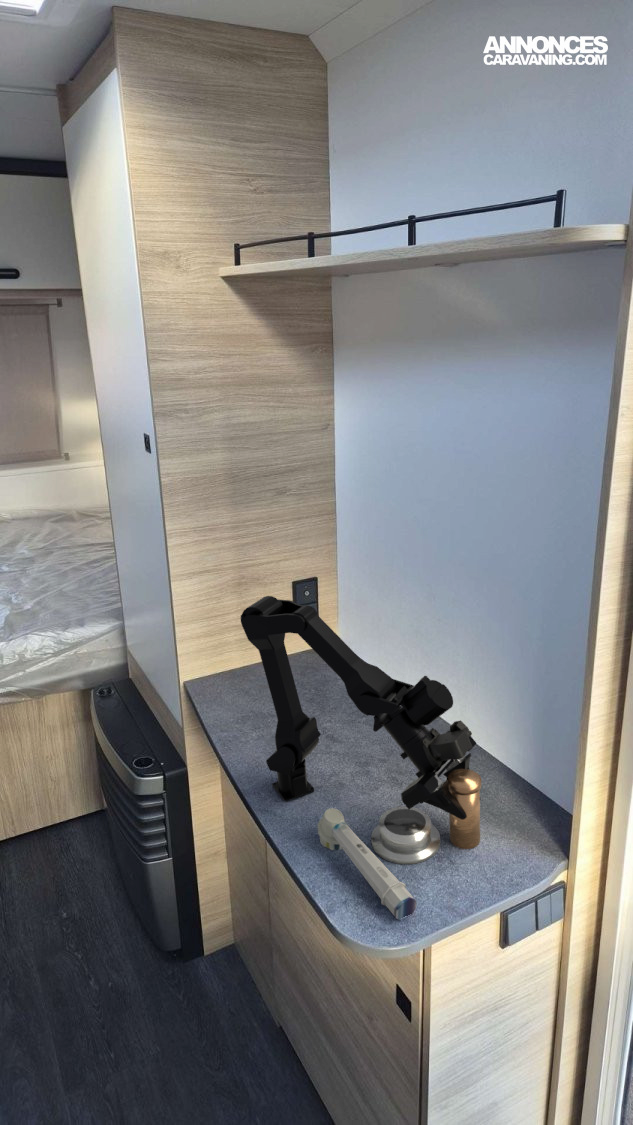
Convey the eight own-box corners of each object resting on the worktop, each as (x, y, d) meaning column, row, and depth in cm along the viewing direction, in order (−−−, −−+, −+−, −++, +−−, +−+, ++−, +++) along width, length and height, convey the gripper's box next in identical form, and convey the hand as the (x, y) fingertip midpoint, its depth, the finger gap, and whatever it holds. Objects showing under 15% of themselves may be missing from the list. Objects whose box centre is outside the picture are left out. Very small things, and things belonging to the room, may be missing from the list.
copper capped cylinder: (441, 835, 139) (439, 774, 135) (468, 824, 141) (467, 764, 137) (461, 854, 134) (460, 791, 130) (488, 842, 136) (488, 780, 132)
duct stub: (358, 834, 141) (357, 815, 140) (415, 812, 146) (414, 793, 145) (395, 873, 131) (394, 853, 129) (454, 848, 136) (453, 828, 134)
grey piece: (393, 906, 119) (311, 805, 138) (391, 937, 122) (311, 834, 141) (421, 892, 121) (337, 794, 141) (418, 923, 124) (336, 823, 144)
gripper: (415, 741, 125) (480, 821, 123) (465, 692, 140) (524, 762, 137) (374, 770, 132) (435, 847, 130) (426, 720, 147) (482, 788, 144)
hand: (472, 809), depth 135 cm, fingers closed on copper capped cylinder, 5 cm apart
